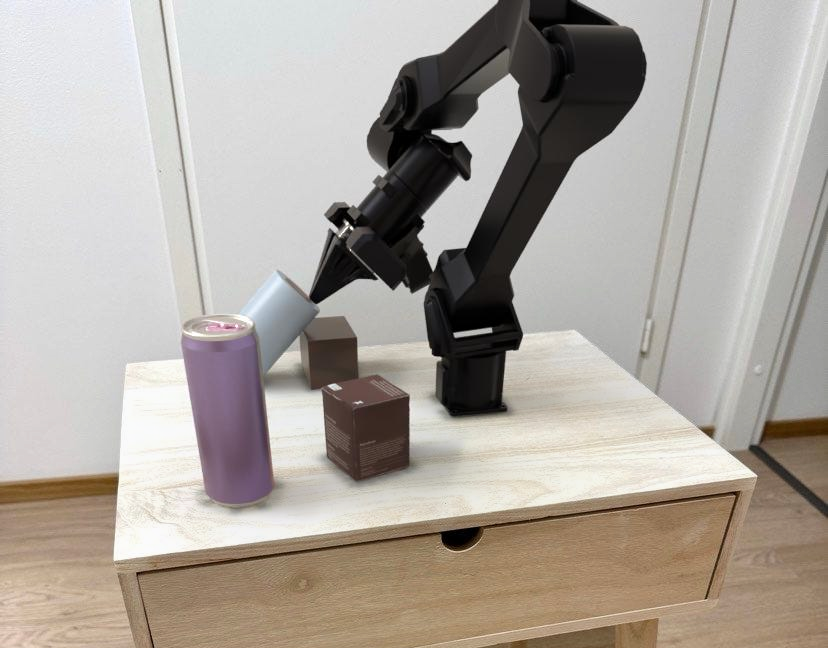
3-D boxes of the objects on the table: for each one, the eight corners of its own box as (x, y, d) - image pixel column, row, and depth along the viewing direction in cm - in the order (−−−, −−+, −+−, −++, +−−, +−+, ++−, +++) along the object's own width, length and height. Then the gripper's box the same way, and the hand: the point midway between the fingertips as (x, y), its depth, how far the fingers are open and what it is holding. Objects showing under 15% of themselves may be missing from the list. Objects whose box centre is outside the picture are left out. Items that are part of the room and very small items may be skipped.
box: (411, 468, 71) (412, 394, 67) (354, 484, 68) (352, 408, 64) (378, 443, 75) (378, 372, 71) (324, 457, 72) (320, 385, 68)
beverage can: (260, 514, 64) (239, 339, 55) (194, 505, 65) (164, 333, 56) (284, 480, 69) (268, 315, 60) (222, 473, 70) (198, 310, 61)
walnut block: (346, 361, 94) (344, 315, 91) (358, 385, 87) (357, 337, 84) (301, 364, 93) (297, 318, 89) (310, 389, 86) (307, 340, 83)
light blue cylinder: (319, 365, 92) (312, 261, 85) (327, 384, 87) (321, 276, 80) (217, 373, 90) (202, 267, 83) (219, 394, 85) (203, 282, 78)
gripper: (482, 264, 78) (379, 375, 82) (434, 227, 93) (349, 323, 97) (409, 182, 72) (301, 306, 76) (370, 157, 87) (282, 261, 91)
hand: (312, 301), depth 85 cm, fingers closed
